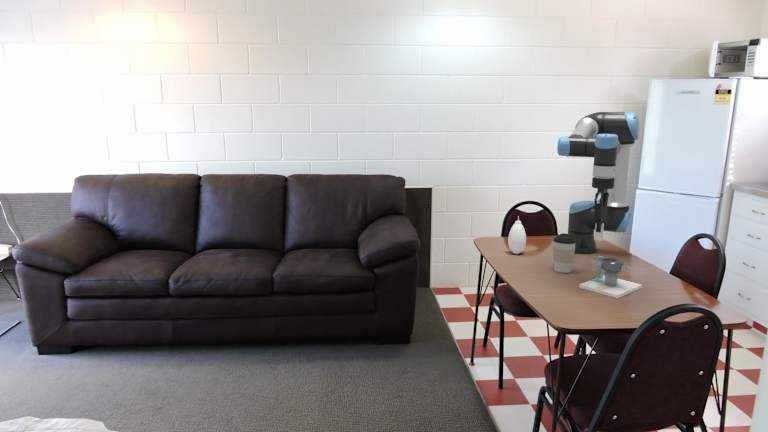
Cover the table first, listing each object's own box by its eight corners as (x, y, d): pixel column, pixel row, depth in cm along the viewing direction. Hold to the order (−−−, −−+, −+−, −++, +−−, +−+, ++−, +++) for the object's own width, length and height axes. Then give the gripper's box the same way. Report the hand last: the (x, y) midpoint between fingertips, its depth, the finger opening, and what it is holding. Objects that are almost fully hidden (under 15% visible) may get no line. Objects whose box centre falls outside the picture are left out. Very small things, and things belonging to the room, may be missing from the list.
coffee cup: (575, 274, 215) (578, 238, 212) (552, 272, 217) (554, 237, 214) (572, 267, 224) (574, 233, 221) (550, 266, 226) (552, 232, 222)
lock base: (604, 277, 211) (606, 253, 208) (641, 287, 199) (644, 262, 197) (579, 287, 200) (581, 261, 198) (617, 298, 188) (619, 271, 186)
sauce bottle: (516, 256, 240) (518, 218, 236) (504, 252, 247) (506, 215, 243) (528, 254, 244) (531, 216, 240) (516, 250, 251) (518, 213, 247)
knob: (633, 270, 196) (634, 262, 195) (624, 275, 191) (624, 267, 190) (595, 262, 206) (595, 254, 206) (585, 266, 202) (586, 258, 201)
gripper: (610, 180, 184) (605, 245, 189) (618, 175, 195) (612, 237, 200) (588, 178, 188) (583, 242, 193) (596, 174, 199) (591, 234, 204)
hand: (598, 239), depth 197 cm, fingers closed
